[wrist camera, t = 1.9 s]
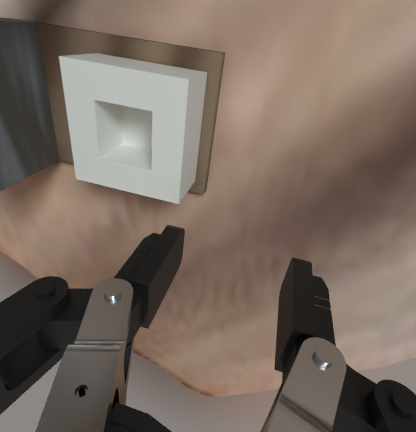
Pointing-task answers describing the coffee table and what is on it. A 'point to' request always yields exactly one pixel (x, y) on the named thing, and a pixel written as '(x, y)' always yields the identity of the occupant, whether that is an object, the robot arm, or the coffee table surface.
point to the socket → (134, 123)
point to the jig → (54, 94)
